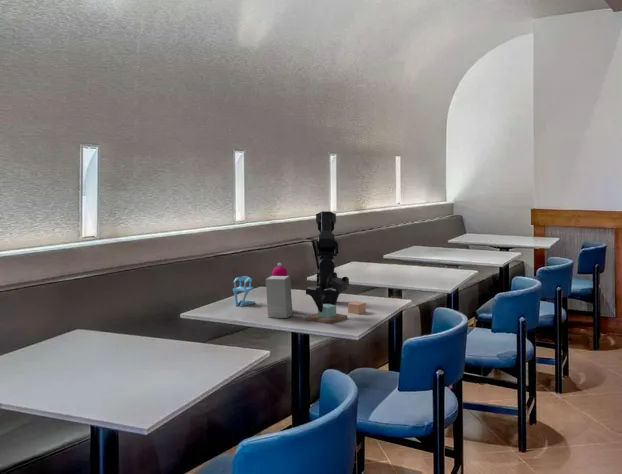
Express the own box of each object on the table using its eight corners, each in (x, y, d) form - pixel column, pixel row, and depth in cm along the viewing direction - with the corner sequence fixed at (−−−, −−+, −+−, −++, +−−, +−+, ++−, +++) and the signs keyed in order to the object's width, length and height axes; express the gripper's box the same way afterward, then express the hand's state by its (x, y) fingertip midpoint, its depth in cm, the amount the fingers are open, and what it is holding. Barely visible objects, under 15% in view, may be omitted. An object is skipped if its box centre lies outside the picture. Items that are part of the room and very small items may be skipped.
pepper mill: (292, 310, 247) (291, 261, 245) (284, 313, 240) (283, 264, 238) (276, 308, 250) (276, 261, 248) (268, 312, 243) (267, 263, 241)
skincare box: (292, 315, 238) (292, 275, 236) (286, 319, 231) (285, 278, 230) (273, 313, 241) (272, 274, 239) (265, 317, 234) (265, 277, 232)
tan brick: (348, 313, 241) (348, 303, 241) (355, 310, 245) (355, 301, 244) (358, 314, 238) (358, 305, 237) (365, 312, 242) (365, 302, 241)
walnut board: (306, 319, 230) (306, 316, 230) (324, 314, 239) (324, 311, 238) (329, 323, 223) (329, 320, 223) (347, 318, 231) (347, 315, 231)
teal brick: (317, 316, 230) (317, 305, 230) (326, 313, 234) (326, 303, 234) (328, 318, 227) (327, 307, 227) (336, 315, 231) (336, 305, 231)
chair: (230, 305, 257) (229, 277, 256) (239, 301, 265) (239, 274, 263) (246, 307, 254) (245, 278, 253) (255, 303, 262) (254, 275, 260)
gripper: (328, 275, 217) (328, 317, 218) (358, 268, 231) (358, 308, 232) (304, 272, 224) (305, 313, 225) (335, 266, 238) (335, 305, 240)
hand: (327, 310), depth 230 cm, fingers open, 7 cm apart
